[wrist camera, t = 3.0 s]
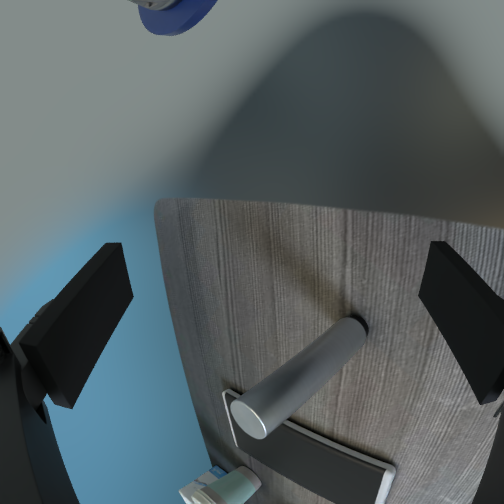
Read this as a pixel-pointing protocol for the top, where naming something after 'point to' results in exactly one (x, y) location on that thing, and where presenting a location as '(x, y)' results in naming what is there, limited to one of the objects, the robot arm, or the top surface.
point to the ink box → (201, 483)
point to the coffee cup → (229, 488)
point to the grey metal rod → (298, 378)
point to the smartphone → (316, 462)
